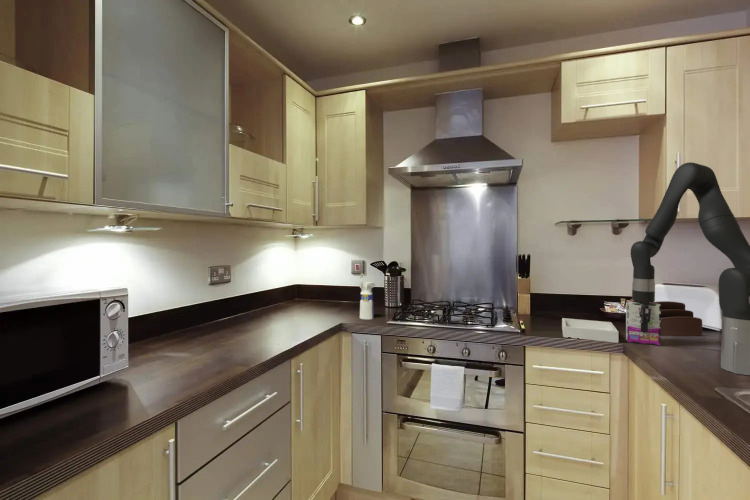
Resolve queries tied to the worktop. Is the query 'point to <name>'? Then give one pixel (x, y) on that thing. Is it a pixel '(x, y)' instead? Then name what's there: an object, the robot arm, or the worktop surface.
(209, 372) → the worktop surface
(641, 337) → the candy bar box
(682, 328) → the letter holder
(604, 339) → the tray
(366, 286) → the white spray bottle
